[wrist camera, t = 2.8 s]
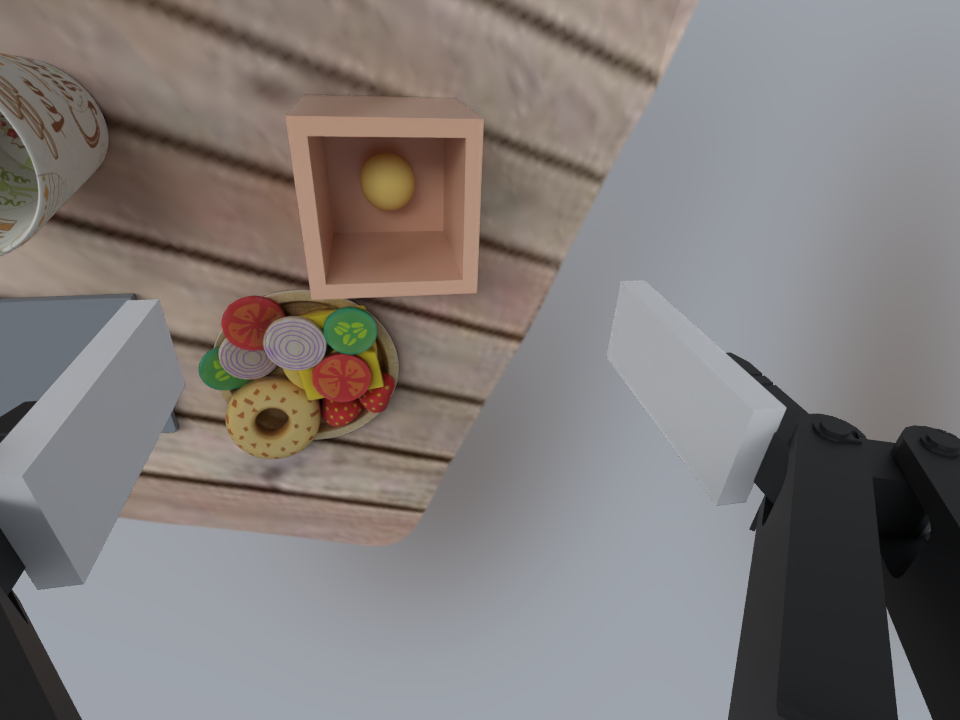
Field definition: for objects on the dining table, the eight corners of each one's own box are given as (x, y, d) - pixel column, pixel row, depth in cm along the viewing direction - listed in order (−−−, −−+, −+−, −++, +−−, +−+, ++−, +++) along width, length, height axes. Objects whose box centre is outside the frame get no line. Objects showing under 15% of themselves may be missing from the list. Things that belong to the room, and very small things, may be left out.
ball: (362, 202, 33) (361, 217, 30) (357, 148, 31) (357, 158, 28) (413, 201, 33) (417, 216, 30) (412, 148, 31) (416, 159, 29)
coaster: (13, 439, 38) (8, 445, 37) (-65, 300, 32) (-71, 305, 31) (179, 426, 40) (176, 431, 39) (134, 293, 34) (130, 297, 33)
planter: (323, 241, 34) (311, 299, 27) (305, 94, 30) (285, 115, 22) (453, 238, 36) (477, 293, 28) (455, 98, 31) (483, 119, 24)
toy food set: (246, 445, 42) (238, 473, 39) (177, 297, 35) (161, 319, 32) (411, 412, 43) (414, 437, 41) (377, 263, 36) (378, 282, 33)
